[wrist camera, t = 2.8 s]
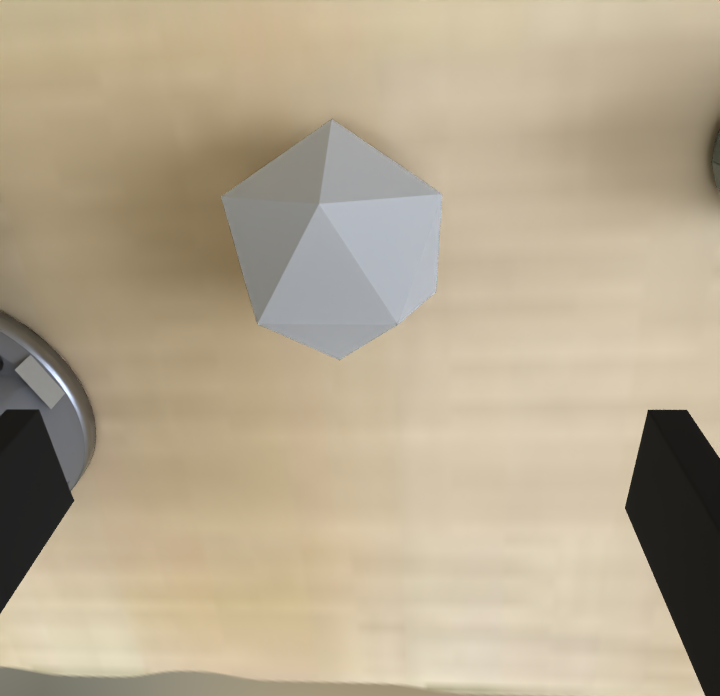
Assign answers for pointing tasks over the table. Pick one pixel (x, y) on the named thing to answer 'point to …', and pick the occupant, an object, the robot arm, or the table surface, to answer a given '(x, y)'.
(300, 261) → the die
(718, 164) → the cup
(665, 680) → the table surface
